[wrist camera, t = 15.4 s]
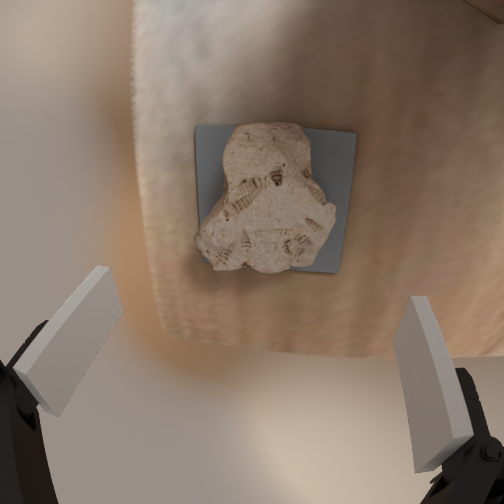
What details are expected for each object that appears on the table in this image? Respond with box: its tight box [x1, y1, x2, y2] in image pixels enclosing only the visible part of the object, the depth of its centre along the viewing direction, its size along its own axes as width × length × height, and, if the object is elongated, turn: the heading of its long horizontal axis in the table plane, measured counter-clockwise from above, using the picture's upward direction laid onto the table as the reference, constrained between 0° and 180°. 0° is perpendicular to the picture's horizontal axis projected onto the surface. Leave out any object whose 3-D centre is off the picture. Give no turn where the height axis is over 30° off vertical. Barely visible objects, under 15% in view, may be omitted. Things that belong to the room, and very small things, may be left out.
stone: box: [193, 122, 336, 274], centre depth 22 cm, size 9×11×5 cm
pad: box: [195, 125, 357, 273], centre depth 25 cm, size 12×12×1 cm
